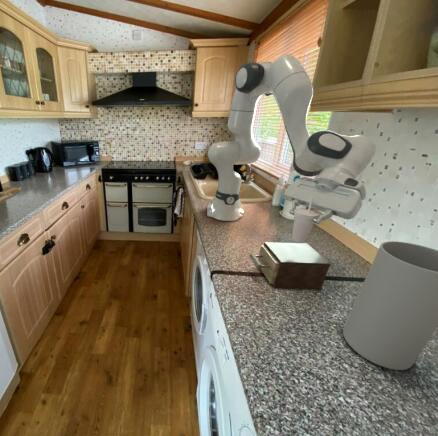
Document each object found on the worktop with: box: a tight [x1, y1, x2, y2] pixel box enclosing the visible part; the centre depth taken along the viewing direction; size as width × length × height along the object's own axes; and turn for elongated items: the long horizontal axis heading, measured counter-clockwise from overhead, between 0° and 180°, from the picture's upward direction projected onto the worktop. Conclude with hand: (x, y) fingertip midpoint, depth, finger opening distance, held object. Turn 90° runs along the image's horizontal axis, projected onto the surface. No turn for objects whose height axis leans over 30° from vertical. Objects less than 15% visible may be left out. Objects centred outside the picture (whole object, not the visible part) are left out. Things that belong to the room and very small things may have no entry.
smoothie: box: [291, 198, 320, 243], centre depth 74 cm, size 6×6×14 cm
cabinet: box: [263, 241, 331, 290], centre depth 81 cm, size 15×13×10 cm
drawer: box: [248, 244, 280, 285], centre depth 81 cm, size 18×11×8 cm, turn 88°
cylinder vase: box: [342, 240, 438, 371], centre depth 53 cm, size 12×12×25 cm
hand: (303, 218), depth 74 cm, fingers closed on smoothie, 6 cm apart
